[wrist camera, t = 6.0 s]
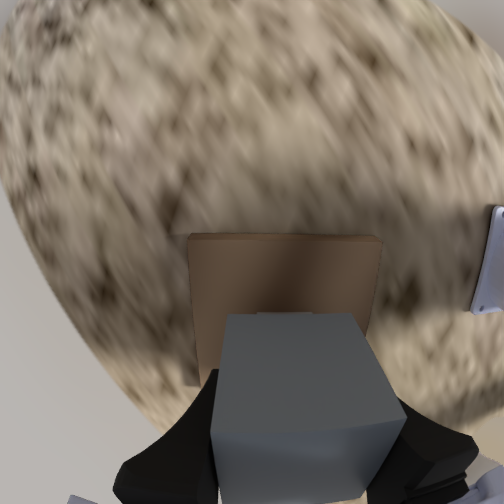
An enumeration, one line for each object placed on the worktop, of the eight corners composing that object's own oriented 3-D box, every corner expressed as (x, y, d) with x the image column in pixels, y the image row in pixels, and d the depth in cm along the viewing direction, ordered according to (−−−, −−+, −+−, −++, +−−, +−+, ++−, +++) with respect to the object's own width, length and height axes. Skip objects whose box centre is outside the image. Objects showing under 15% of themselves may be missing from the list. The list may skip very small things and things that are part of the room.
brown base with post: (374, 235, 16) (427, 279, 10) (345, 384, 20) (366, 449, 14) (191, 233, 16) (159, 280, 10) (204, 386, 20) (192, 455, 14)
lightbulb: (475, 434, 24) (508, 494, 14) (434, 459, 25) (461, 524, 15) (478, 412, 22) (519, 480, 12) (432, 440, 23) (466, 516, 13)
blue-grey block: (351, 312, 13) (407, 417, 7) (333, 398, 15) (360, 497, 9) (227, 313, 13) (209, 431, 7) (231, 401, 15) (222, 506, 9)
